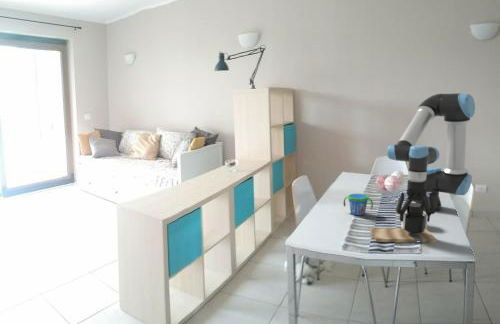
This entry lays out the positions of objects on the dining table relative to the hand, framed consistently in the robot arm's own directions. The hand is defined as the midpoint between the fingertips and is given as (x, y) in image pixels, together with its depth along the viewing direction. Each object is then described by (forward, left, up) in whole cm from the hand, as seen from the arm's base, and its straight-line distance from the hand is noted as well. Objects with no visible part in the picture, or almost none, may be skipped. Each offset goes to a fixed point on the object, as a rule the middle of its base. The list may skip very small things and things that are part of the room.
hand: (413, 227), depth 170 cm
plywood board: (+5, 0, -4) cm, 7 cm away
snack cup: (+19, -32, -5) cm, 38 cm away
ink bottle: (0, 0, -1) cm, 1 cm away
